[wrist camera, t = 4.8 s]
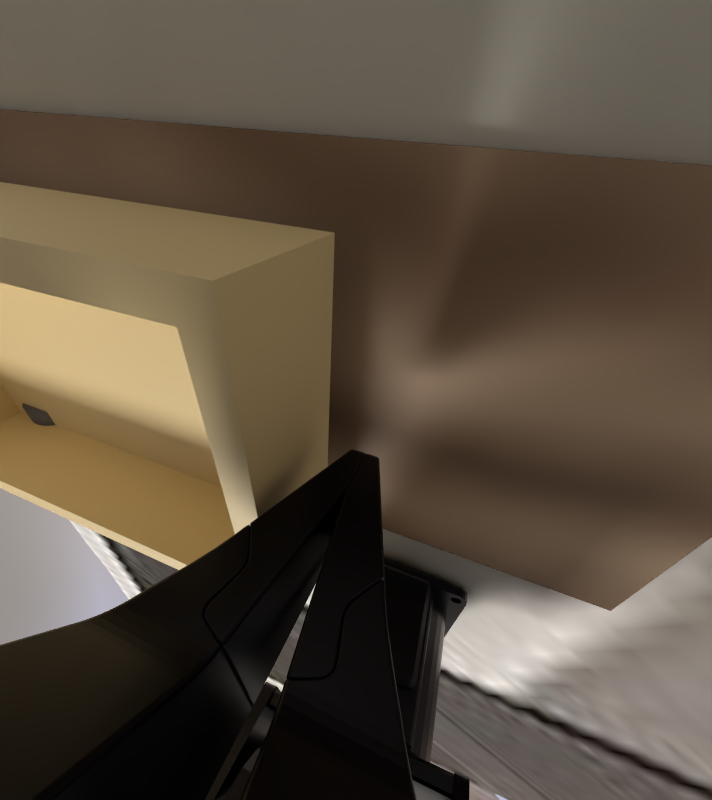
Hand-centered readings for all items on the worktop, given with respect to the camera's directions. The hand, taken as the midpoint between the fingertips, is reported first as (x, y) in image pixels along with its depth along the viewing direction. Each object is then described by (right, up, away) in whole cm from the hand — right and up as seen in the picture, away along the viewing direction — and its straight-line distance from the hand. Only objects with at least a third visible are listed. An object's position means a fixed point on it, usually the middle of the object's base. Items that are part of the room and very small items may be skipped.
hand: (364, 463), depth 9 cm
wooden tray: (-8, +4, +4) cm, 10 cm away
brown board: (-4, +3, +4) cm, 7 cm away
